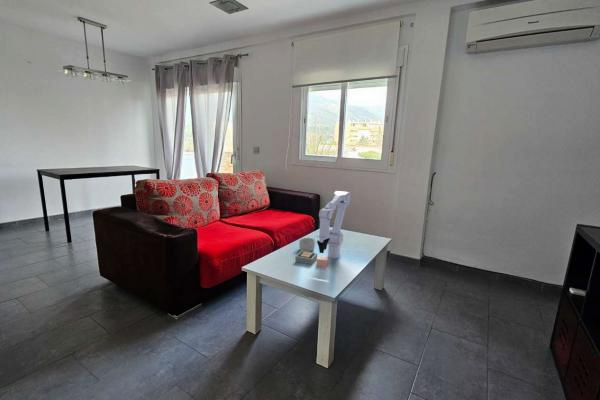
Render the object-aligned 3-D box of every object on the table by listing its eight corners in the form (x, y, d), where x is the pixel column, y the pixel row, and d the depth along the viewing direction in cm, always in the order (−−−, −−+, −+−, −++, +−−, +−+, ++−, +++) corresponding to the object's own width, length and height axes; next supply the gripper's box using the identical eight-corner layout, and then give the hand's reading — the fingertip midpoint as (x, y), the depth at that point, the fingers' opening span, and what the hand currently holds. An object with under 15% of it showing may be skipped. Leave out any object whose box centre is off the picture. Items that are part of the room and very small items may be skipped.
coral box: (318, 263, 173) (318, 256, 172) (327, 265, 171) (328, 257, 170) (316, 266, 169) (316, 258, 168) (326, 268, 167) (326, 260, 166)
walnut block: (303, 257, 180) (303, 252, 179) (312, 259, 177) (312, 253, 177) (300, 261, 174) (300, 255, 173) (309, 262, 172) (309, 256, 171)
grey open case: (311, 254, 187) (312, 243, 186) (296, 252, 191) (296, 241, 189) (317, 247, 200) (317, 237, 199) (303, 245, 204) (303, 235, 202)
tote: (301, 257, 183) (301, 250, 182) (316, 259, 179) (317, 253, 178) (295, 263, 173) (295, 256, 172) (311, 266, 169) (311, 259, 168)
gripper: (320, 225, 174) (319, 246, 176) (315, 230, 161) (313, 253, 162) (331, 227, 172) (330, 248, 174) (327, 232, 159) (325, 255, 160)
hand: (322, 251), depth 168 cm, fingers open, 7 cm apart
